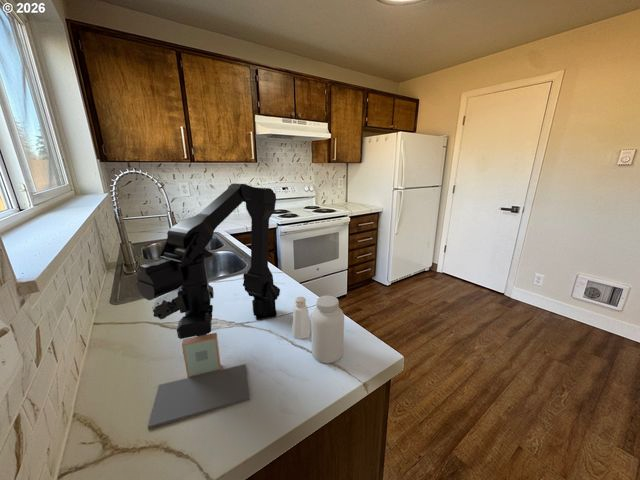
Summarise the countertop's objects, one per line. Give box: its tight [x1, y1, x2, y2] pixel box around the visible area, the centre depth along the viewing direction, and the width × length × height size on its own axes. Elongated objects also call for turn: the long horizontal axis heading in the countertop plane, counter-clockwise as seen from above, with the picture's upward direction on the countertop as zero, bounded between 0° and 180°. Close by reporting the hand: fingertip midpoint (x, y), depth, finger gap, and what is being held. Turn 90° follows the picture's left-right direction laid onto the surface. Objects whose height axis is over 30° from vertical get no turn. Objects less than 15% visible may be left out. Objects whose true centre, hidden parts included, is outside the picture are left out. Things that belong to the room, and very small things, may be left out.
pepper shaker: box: [291, 296, 312, 340], centre depth 74 cm, size 5×5×11 cm
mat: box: [147, 363, 250, 430], centre depth 56 cm, size 18×10×1 cm, turn 110°
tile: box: [181, 332, 222, 378], centre depth 61 cm, size 7×2×9 cm, turn 110°
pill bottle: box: [310, 295, 345, 364], centre depth 65 cm, size 8×8×15 cm
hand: (202, 339), depth 64 cm, fingers closed
